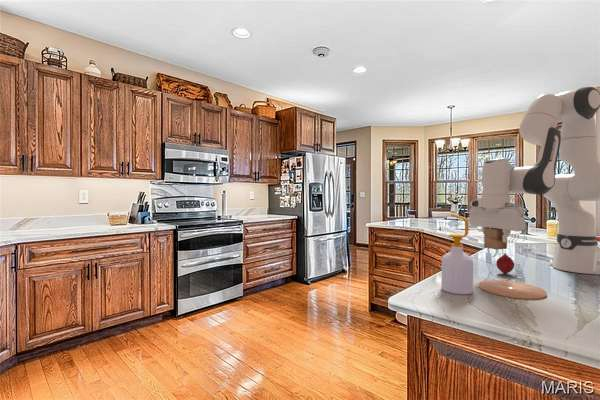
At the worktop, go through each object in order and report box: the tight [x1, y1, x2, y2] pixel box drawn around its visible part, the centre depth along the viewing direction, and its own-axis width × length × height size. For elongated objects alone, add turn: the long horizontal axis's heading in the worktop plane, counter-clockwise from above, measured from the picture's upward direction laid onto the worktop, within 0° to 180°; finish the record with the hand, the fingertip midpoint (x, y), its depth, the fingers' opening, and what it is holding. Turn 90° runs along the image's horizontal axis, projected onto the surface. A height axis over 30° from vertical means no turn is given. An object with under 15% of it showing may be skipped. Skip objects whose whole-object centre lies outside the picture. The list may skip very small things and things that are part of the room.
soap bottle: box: [441, 213, 474, 296], centre depth 101 cm, size 9×9×25 cm
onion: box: [495, 252, 515, 275], centre depth 123 cm, size 6×6×8 cm
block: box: [483, 228, 508, 250], centre depth 115 cm, size 5×5×7 cm
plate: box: [478, 279, 548, 300], centre depth 102 cm, size 18×18×1 cm
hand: (495, 240), depth 116 cm, fingers closed on block, 5 cm apart
